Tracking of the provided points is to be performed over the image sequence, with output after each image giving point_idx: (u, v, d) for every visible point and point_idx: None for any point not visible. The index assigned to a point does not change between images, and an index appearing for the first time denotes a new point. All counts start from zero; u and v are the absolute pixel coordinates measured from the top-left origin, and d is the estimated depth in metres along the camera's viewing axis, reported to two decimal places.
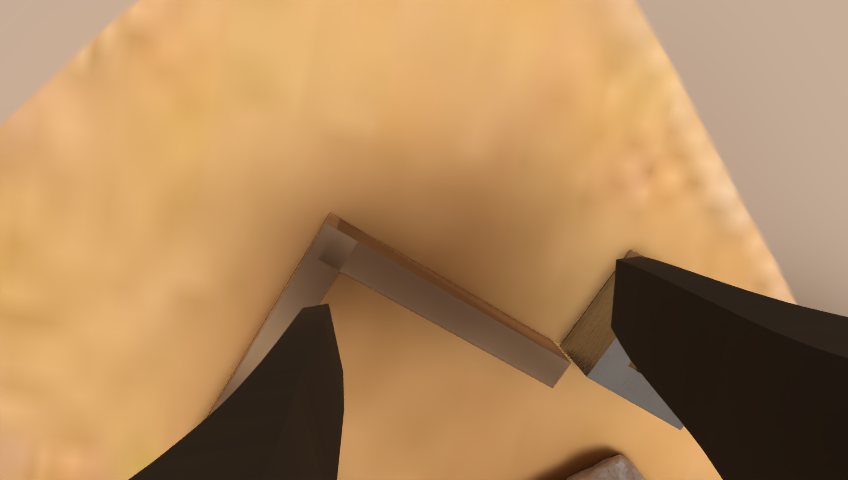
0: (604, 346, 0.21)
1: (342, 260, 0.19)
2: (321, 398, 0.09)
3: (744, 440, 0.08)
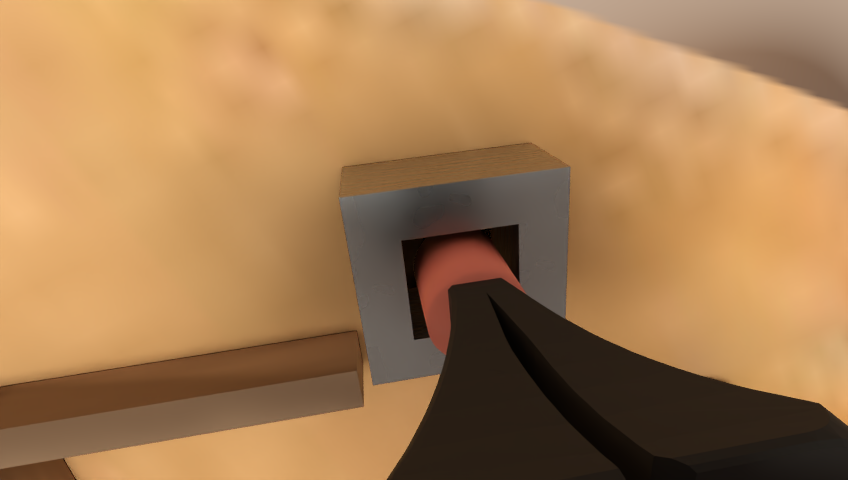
0: None
1: None
2: None
3: None
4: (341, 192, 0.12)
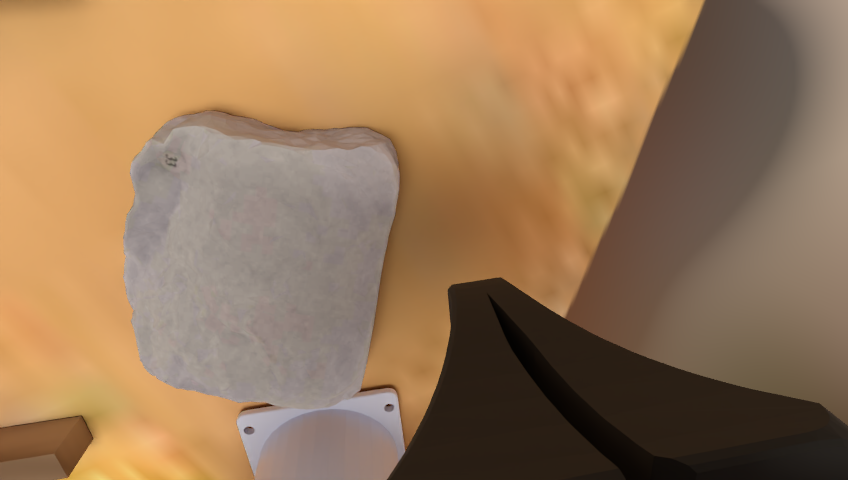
0: None
1: None
2: None
3: None
4: None
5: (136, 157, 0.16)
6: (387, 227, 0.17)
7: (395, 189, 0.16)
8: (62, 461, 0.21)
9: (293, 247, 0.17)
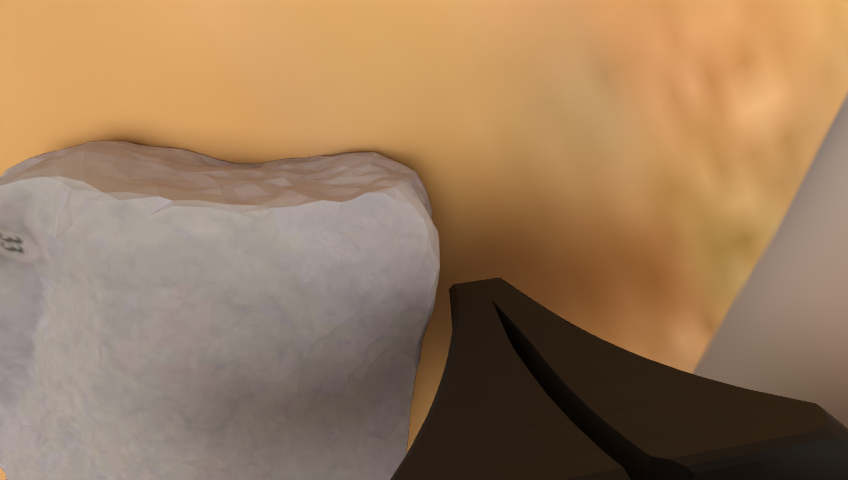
0: None
1: None
2: None
3: None
4: None
5: None
6: (420, 329, 0.10)
7: (434, 267, 0.09)
8: None
9: (256, 377, 0.09)
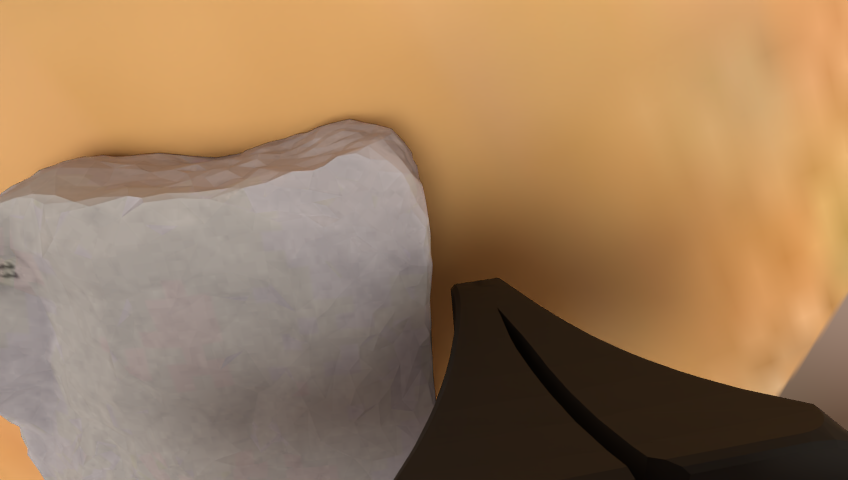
0: None
1: None
2: None
3: None
4: None
5: None
6: (424, 290, 0.09)
7: (422, 222, 0.08)
8: None
9: (267, 365, 0.09)
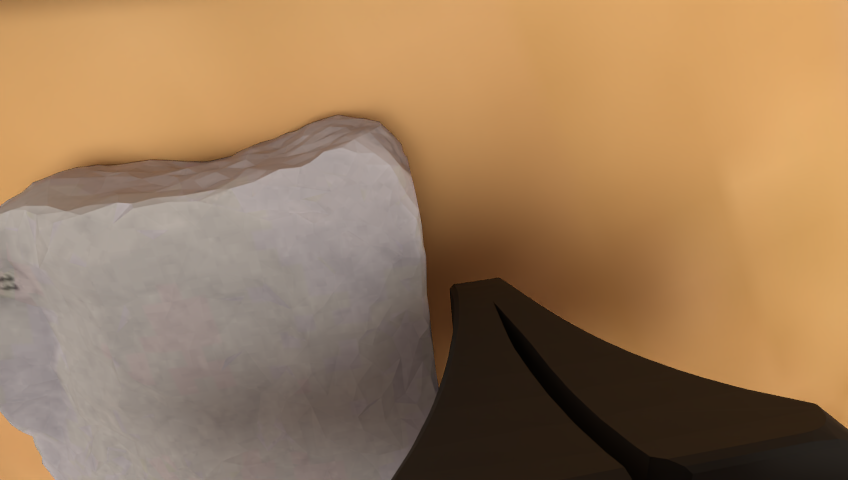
0: None
1: None
2: None
3: None
4: None
5: None
6: (419, 282, 0.09)
7: (412, 213, 0.08)
8: None
9: (268, 364, 0.09)
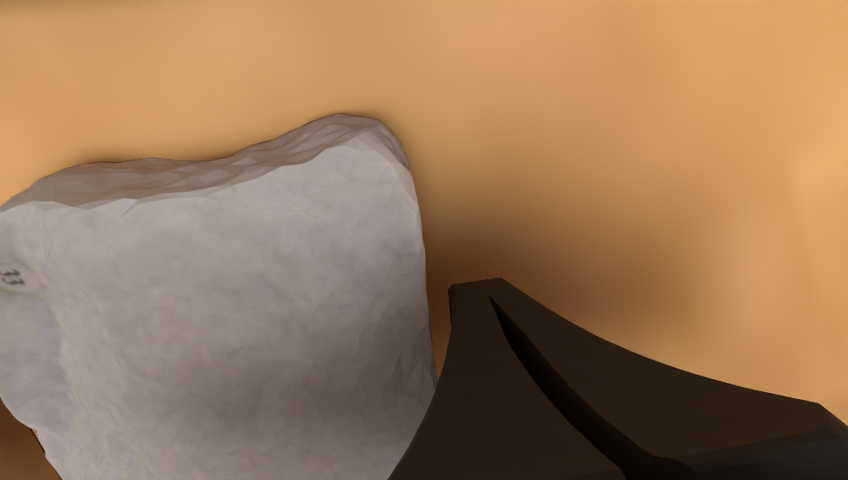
0: None
1: None
2: None
3: None
4: None
5: None
6: (419, 277, 0.09)
7: (412, 209, 0.09)
8: None
9: (270, 358, 0.09)
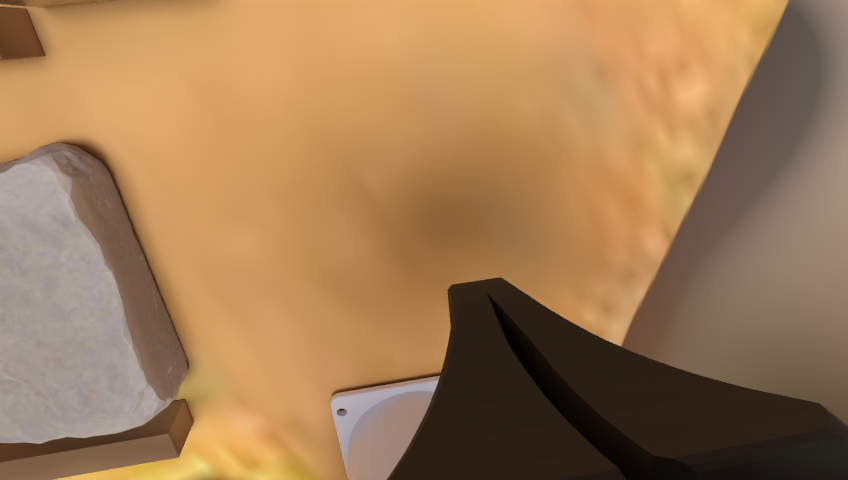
0: None
1: None
2: None
3: None
4: None
5: None
6: (86, 237, 0.16)
7: (64, 198, 0.15)
8: (174, 441, 0.22)
9: (4, 284, 0.16)
